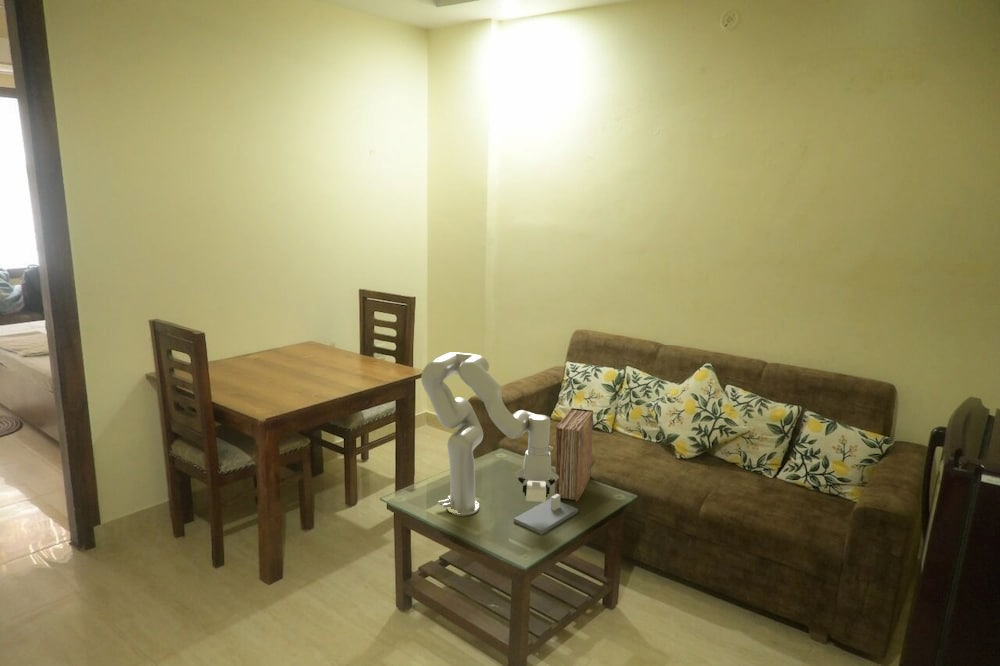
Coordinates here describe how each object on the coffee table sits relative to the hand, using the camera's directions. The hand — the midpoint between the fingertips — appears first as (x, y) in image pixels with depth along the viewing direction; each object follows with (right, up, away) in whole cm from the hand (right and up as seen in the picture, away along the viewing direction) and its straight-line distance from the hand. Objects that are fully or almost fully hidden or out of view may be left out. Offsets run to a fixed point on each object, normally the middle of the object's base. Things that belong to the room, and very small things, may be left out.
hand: (535, 494), depth 224 cm
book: (+17, -5, +30) cm, 35 cm away
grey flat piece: (+4, -10, +5) cm, 12 cm away
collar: (0, -1, 0) cm, 1 cm away
